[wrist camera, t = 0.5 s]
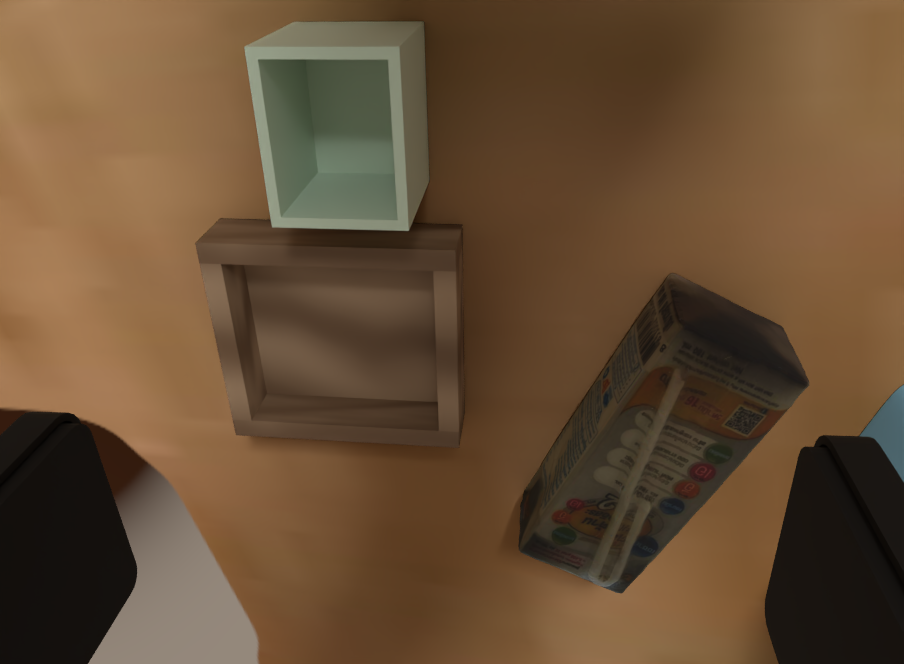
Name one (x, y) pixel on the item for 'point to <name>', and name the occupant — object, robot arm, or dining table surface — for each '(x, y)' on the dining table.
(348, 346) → the walnut crate
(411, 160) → the small crate
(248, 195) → the dining table surface
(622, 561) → the beverage carton
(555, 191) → the dining table surface
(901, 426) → the vase
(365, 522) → the dining table surface
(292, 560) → the dining table surface
